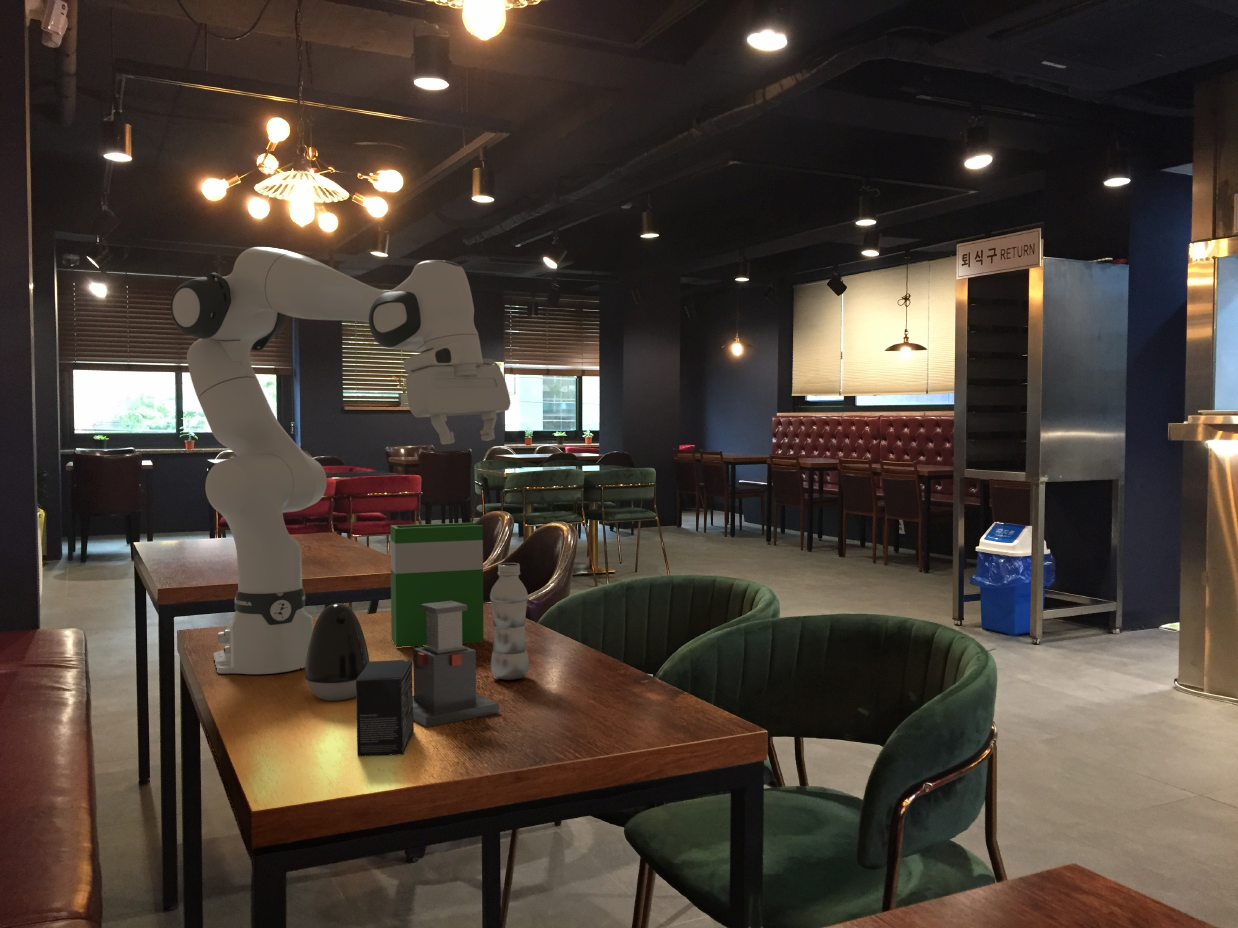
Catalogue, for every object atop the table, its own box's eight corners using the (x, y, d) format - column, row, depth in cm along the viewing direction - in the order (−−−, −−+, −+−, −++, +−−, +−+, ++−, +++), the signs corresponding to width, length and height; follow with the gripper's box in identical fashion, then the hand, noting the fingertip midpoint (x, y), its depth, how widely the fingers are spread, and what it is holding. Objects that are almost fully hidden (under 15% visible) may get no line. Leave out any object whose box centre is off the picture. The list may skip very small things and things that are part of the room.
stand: (391, 708, 149) (391, 647, 148) (461, 696, 156) (461, 637, 156) (426, 727, 139) (425, 662, 139) (498, 712, 146) (498, 650, 146)
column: (421, 699, 148) (420, 604, 148) (452, 694, 151) (451, 600, 151) (437, 707, 144) (436, 608, 143) (468, 701, 147) (467, 605, 146)
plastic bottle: (523, 684, 163) (522, 567, 163) (485, 682, 165) (484, 566, 164) (533, 675, 170) (533, 562, 169) (497, 673, 171) (496, 561, 170)
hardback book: (475, 634, 205) (475, 522, 204) (483, 641, 198) (482, 525, 197) (391, 641, 199) (390, 525, 198) (396, 648, 192) (395, 528, 191)
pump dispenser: (311, 708, 149) (310, 611, 148) (300, 693, 158) (299, 601, 158) (377, 700, 154) (376, 605, 153) (362, 685, 163) (361, 596, 162)
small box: (368, 732, 137) (367, 659, 137) (414, 731, 137) (414, 658, 137) (354, 757, 126) (353, 677, 126) (404, 755, 127) (403, 676, 127)
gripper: (484, 362, 166) (497, 441, 166) (394, 361, 150) (409, 449, 149) (511, 354, 163) (524, 435, 163) (422, 353, 146) (437, 442, 146)
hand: (468, 441), depth 156 cm, fingers open, 8 cm apart
